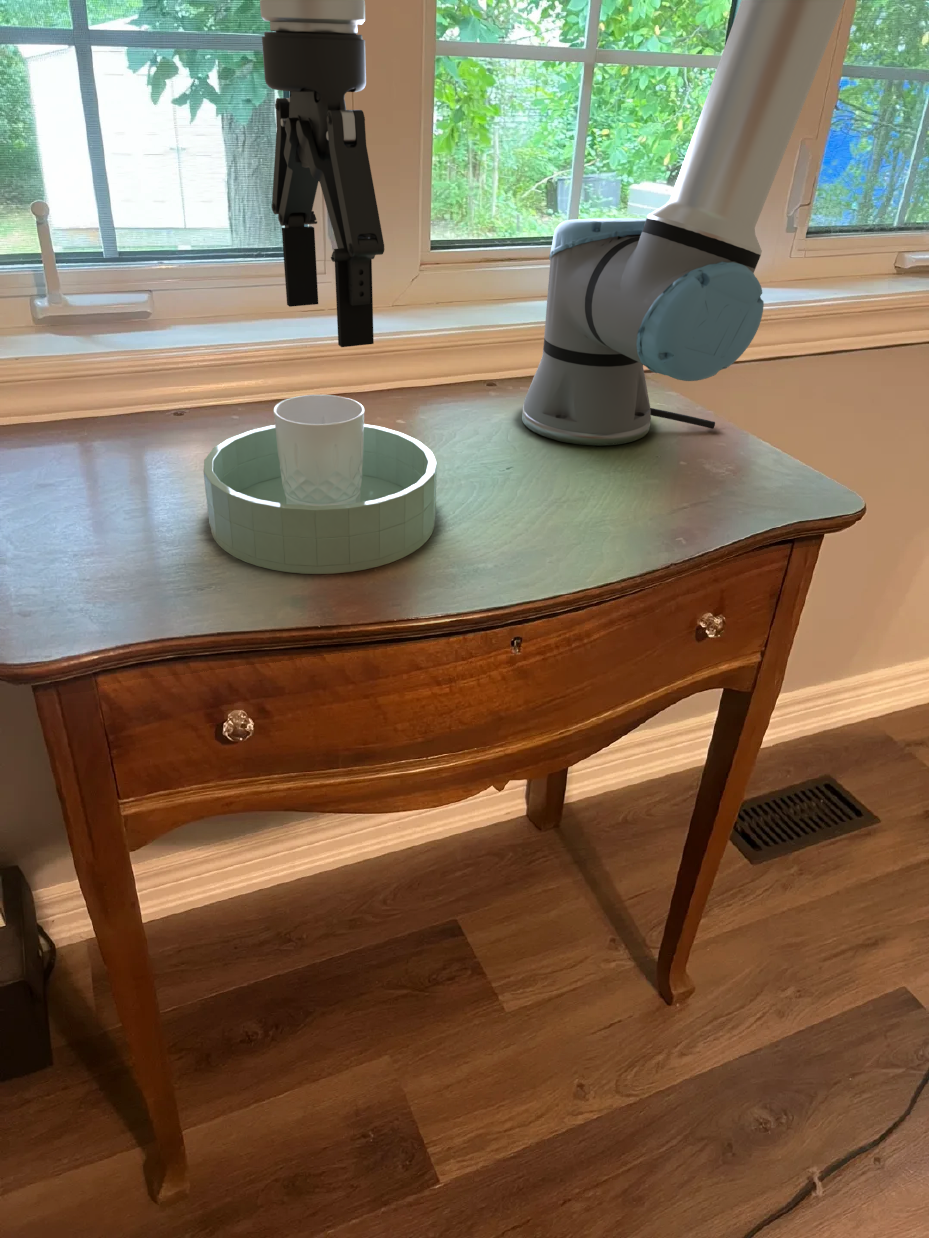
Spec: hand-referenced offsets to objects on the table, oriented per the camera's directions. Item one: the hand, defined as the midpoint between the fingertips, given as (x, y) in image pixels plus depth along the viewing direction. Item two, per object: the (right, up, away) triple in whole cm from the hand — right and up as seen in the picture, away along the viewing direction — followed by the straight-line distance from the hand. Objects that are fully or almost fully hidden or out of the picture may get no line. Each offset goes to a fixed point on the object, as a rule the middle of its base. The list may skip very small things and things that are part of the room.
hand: (327, 323), depth 80 cm
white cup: (-2, -16, +7) cm, 17 cm away
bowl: (-1, -16, +8) cm, 18 cm away
